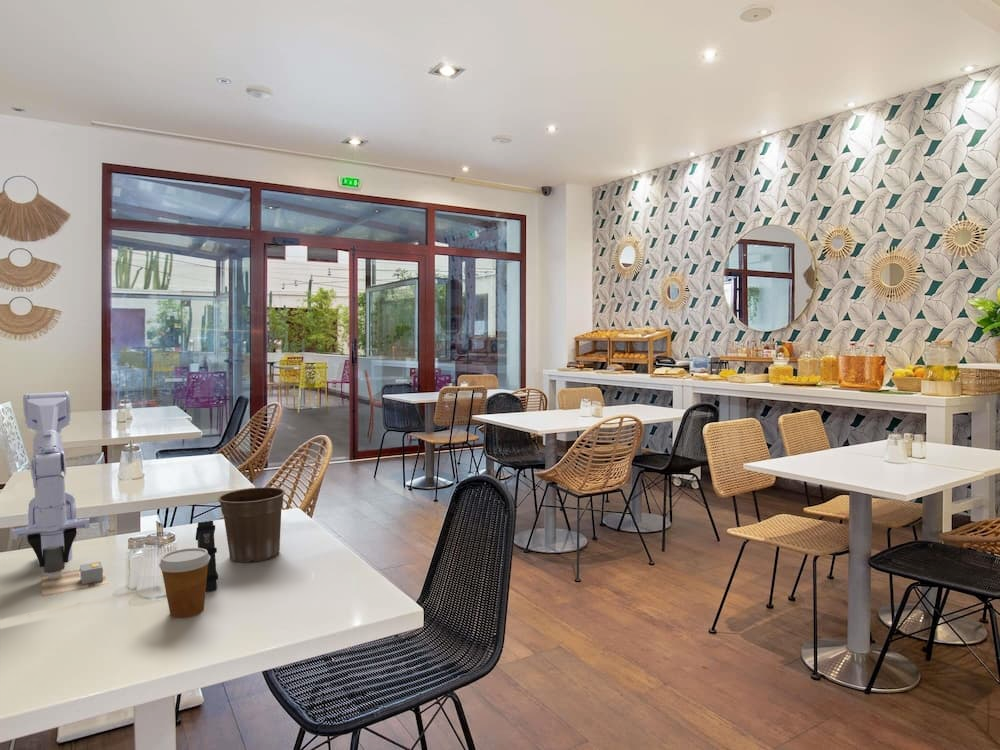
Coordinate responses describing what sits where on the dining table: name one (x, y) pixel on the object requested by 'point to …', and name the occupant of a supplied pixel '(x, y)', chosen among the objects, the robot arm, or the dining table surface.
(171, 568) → the disposable coffee cup
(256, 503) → the plant pot
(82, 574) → the block
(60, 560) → the dark grey piece
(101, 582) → the plank
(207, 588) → the black stepped upright piece
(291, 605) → the dining table surface
